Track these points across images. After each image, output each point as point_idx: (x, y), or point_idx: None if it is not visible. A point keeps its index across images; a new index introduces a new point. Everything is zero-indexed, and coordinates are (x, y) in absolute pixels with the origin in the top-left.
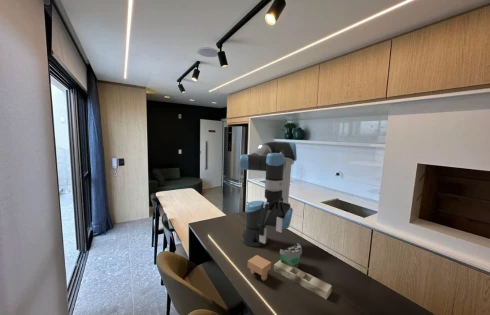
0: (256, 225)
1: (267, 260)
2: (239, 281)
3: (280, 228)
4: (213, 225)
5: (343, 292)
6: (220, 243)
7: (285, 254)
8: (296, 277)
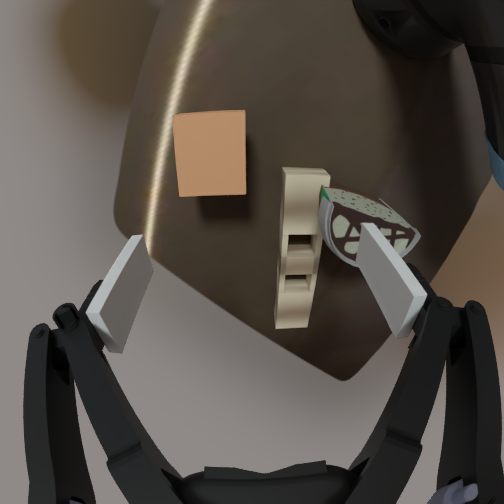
0: (32, 334)
1: (245, 175)
2: (142, 121)
3: (366, 273)
4: None
5: (321, 326)
6: None
7: (322, 227)
8: (280, 259)
